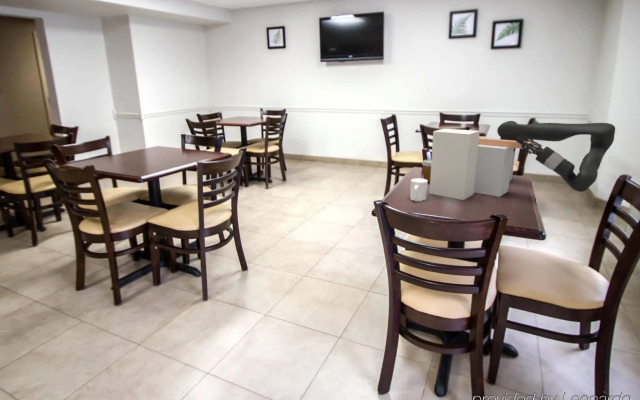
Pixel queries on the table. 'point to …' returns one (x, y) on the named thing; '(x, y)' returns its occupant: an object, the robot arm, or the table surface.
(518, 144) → the terracotta bar
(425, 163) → the disposable coffee cup
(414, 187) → the mug
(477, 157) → the stepped stand
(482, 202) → the table surface
